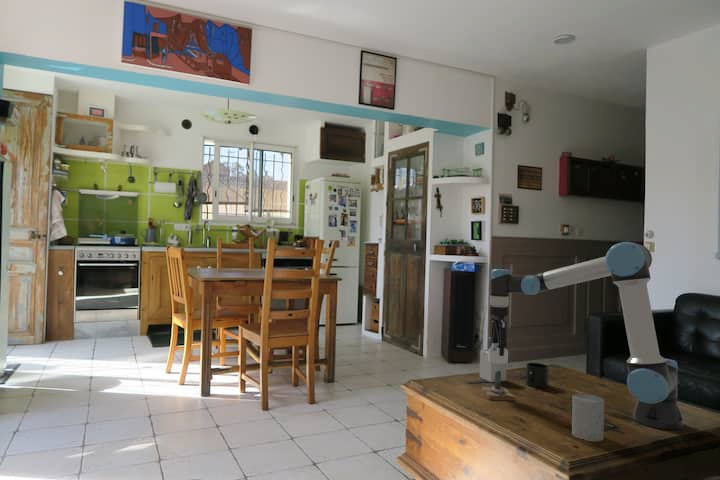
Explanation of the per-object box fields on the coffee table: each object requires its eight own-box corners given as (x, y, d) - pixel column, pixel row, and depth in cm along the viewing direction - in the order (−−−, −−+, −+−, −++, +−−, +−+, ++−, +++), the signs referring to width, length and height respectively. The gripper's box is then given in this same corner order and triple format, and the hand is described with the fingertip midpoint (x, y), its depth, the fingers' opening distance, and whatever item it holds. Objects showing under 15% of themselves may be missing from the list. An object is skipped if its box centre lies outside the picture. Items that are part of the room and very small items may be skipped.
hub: (509, 364, 191) (509, 351, 191) (491, 363, 191) (491, 351, 191) (504, 359, 198) (504, 348, 198) (486, 359, 198) (486, 347, 199)
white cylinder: (594, 430, 158) (594, 393, 158) (610, 441, 148) (610, 402, 149) (566, 429, 158) (566, 393, 158) (580, 441, 148) (581, 402, 148)
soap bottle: (494, 376, 226) (495, 336, 226) (506, 380, 218) (506, 339, 218) (479, 377, 223) (480, 337, 223) (490, 382, 214) (491, 340, 215)
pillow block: (514, 400, 188) (514, 375, 188) (489, 399, 188) (489, 374, 189) (505, 391, 200) (505, 368, 200) (481, 390, 200) (482, 367, 201)
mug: (519, 385, 210) (519, 365, 210) (531, 381, 218) (532, 361, 219) (539, 390, 203) (540, 369, 204) (551, 385, 212) (552, 365, 212)
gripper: (516, 309, 185) (514, 367, 185) (501, 303, 205) (499, 355, 205) (497, 308, 185) (495, 366, 185) (484, 303, 205) (482, 355, 205)
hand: (497, 360), depth 195 cm, fingers closed on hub, 7 cm apart
